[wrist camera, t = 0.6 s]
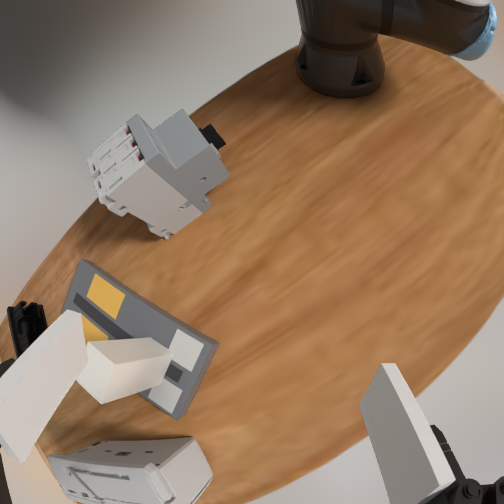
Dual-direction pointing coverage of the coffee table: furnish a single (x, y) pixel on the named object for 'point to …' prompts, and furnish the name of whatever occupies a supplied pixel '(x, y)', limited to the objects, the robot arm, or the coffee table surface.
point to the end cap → (26, 325)
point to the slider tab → (123, 367)
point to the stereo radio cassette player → (134, 472)
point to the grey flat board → (142, 333)
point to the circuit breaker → (159, 171)
